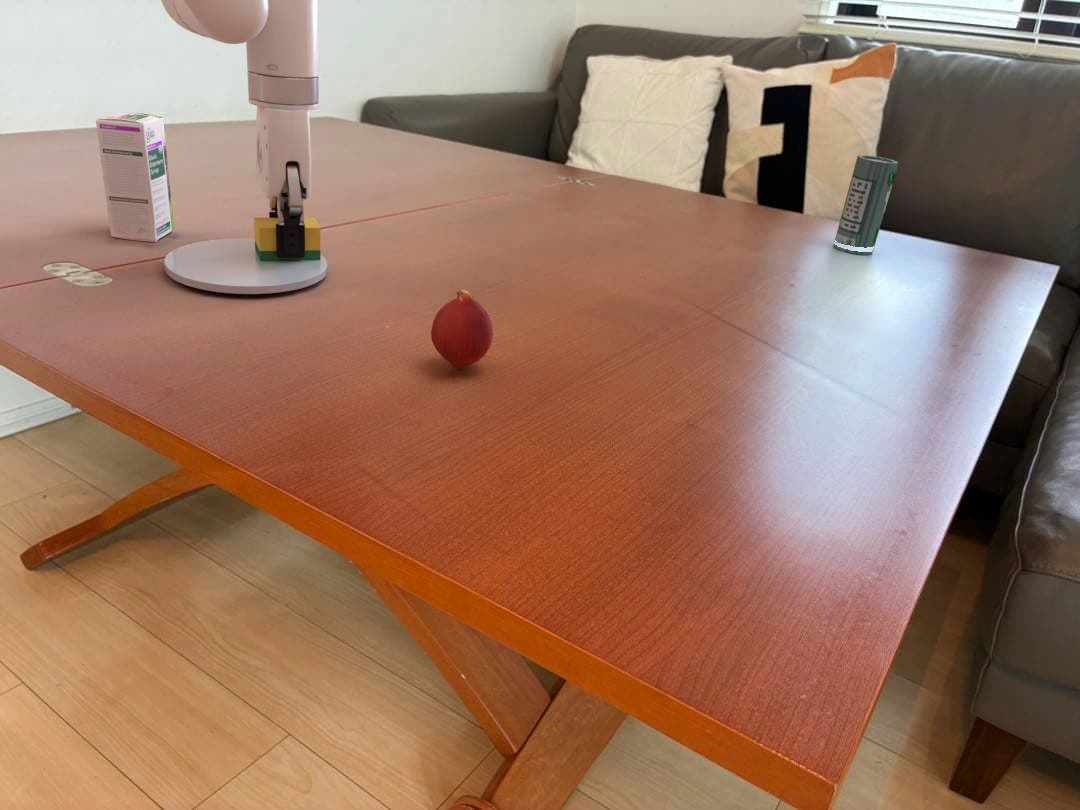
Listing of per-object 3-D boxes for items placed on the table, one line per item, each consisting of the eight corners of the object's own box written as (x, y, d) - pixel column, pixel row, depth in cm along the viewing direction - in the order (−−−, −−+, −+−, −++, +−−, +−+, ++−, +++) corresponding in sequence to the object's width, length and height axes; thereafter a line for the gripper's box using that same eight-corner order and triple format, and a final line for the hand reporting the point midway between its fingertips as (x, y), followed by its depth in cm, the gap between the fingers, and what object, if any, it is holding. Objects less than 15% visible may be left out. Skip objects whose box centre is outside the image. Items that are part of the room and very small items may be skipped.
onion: (463, 351, 86) (469, 276, 82) (501, 372, 82) (509, 294, 79) (417, 363, 82) (421, 285, 78) (455, 386, 78) (461, 304, 75)
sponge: (260, 261, 99) (258, 227, 97) (255, 249, 103) (253, 217, 101) (320, 260, 102) (320, 227, 100) (313, 249, 106) (313, 217, 104)
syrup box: (156, 243, 106) (145, 122, 99) (108, 237, 105) (94, 116, 99) (174, 231, 111) (165, 115, 104) (129, 226, 111) (117, 110, 104)
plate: (169, 302, 89) (167, 288, 88) (162, 250, 103) (160, 238, 103) (341, 296, 96) (341, 283, 96) (312, 248, 111) (312, 237, 110)
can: (878, 254, 143) (905, 163, 136) (854, 255, 140) (881, 163, 133) (850, 243, 147) (875, 155, 141) (826, 245, 144) (850, 155, 138)
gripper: (238, 78, 99) (245, 231, 107) (259, 101, 86) (265, 274, 94) (304, 82, 102) (306, 230, 110) (333, 105, 89) (333, 272, 97)
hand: (287, 249), depth 102 cm, fingers closed on sponge, 4 cm apart
